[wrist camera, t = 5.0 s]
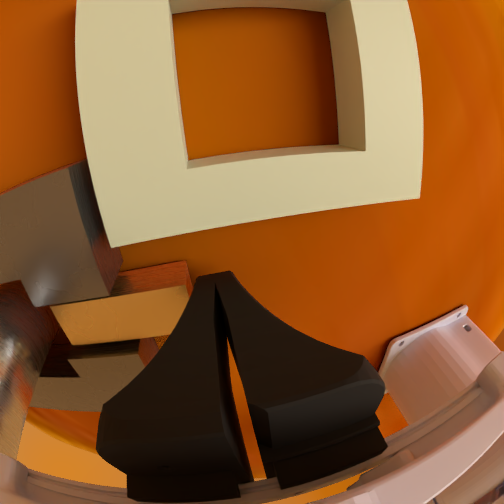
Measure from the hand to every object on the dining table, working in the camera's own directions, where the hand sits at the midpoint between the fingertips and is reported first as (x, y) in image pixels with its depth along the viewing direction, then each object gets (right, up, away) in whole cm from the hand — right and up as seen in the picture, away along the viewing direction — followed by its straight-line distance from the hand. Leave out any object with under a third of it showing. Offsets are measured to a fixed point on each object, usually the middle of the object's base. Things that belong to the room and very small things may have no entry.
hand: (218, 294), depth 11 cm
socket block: (-10, -1, 0) cm, 10 cm away
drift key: (-4, 0, 0) cm, 4 cm away
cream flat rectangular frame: (+2, +8, -2) cm, 9 cm away
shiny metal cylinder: (-10, -1, 0) cm, 10 cm away
